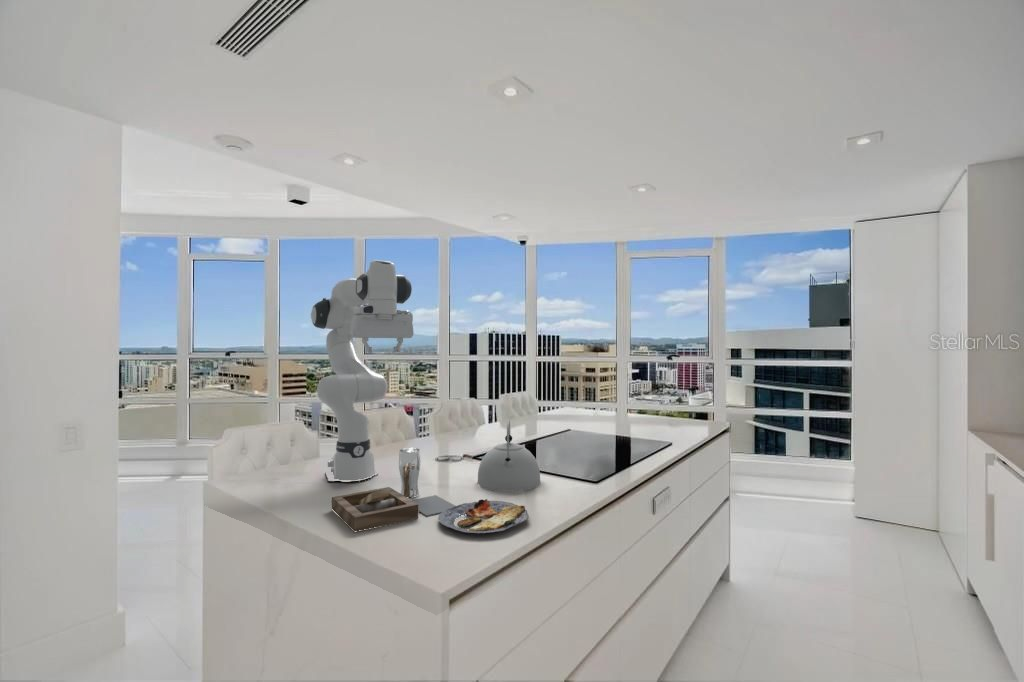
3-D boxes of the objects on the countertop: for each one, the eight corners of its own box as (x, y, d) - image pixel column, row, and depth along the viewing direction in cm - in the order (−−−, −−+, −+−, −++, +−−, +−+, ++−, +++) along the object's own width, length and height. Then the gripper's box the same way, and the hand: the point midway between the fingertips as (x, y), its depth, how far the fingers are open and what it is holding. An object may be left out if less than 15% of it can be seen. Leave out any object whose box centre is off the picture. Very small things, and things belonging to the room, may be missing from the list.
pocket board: (331, 510, 148) (331, 497, 148) (389, 499, 159) (389, 486, 159) (355, 532, 130) (355, 517, 130) (418, 518, 141) (418, 504, 141)
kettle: (541, 493, 165) (541, 425, 165) (473, 493, 165) (473, 425, 165) (539, 474, 190) (538, 415, 190) (480, 474, 190) (479, 415, 190)
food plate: (484, 501, 155) (483, 490, 155) (544, 518, 141) (544, 506, 141) (422, 526, 136) (422, 514, 136) (484, 549, 121) (484, 534, 121)
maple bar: (359, 507, 149) (358, 501, 149) (373, 504, 151) (372, 498, 152) (374, 498, 138) (373, 492, 139) (389, 495, 141) (388, 489, 141)
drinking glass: (399, 499, 159) (399, 452, 159) (398, 493, 165) (398, 448, 165) (421, 497, 160) (421, 451, 161) (419, 491, 167) (419, 447, 167)
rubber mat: (404, 502, 155) (404, 501, 155) (435, 496, 162) (435, 495, 162) (426, 516, 142) (426, 515, 142) (459, 509, 149) (459, 507, 149)
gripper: (408, 311, 169) (409, 351, 169) (348, 309, 157) (348, 352, 157) (416, 310, 164) (416, 351, 164) (354, 307, 152) (355, 352, 152)
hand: (382, 352), depth 160 cm, fingers open, 8 cm apart
